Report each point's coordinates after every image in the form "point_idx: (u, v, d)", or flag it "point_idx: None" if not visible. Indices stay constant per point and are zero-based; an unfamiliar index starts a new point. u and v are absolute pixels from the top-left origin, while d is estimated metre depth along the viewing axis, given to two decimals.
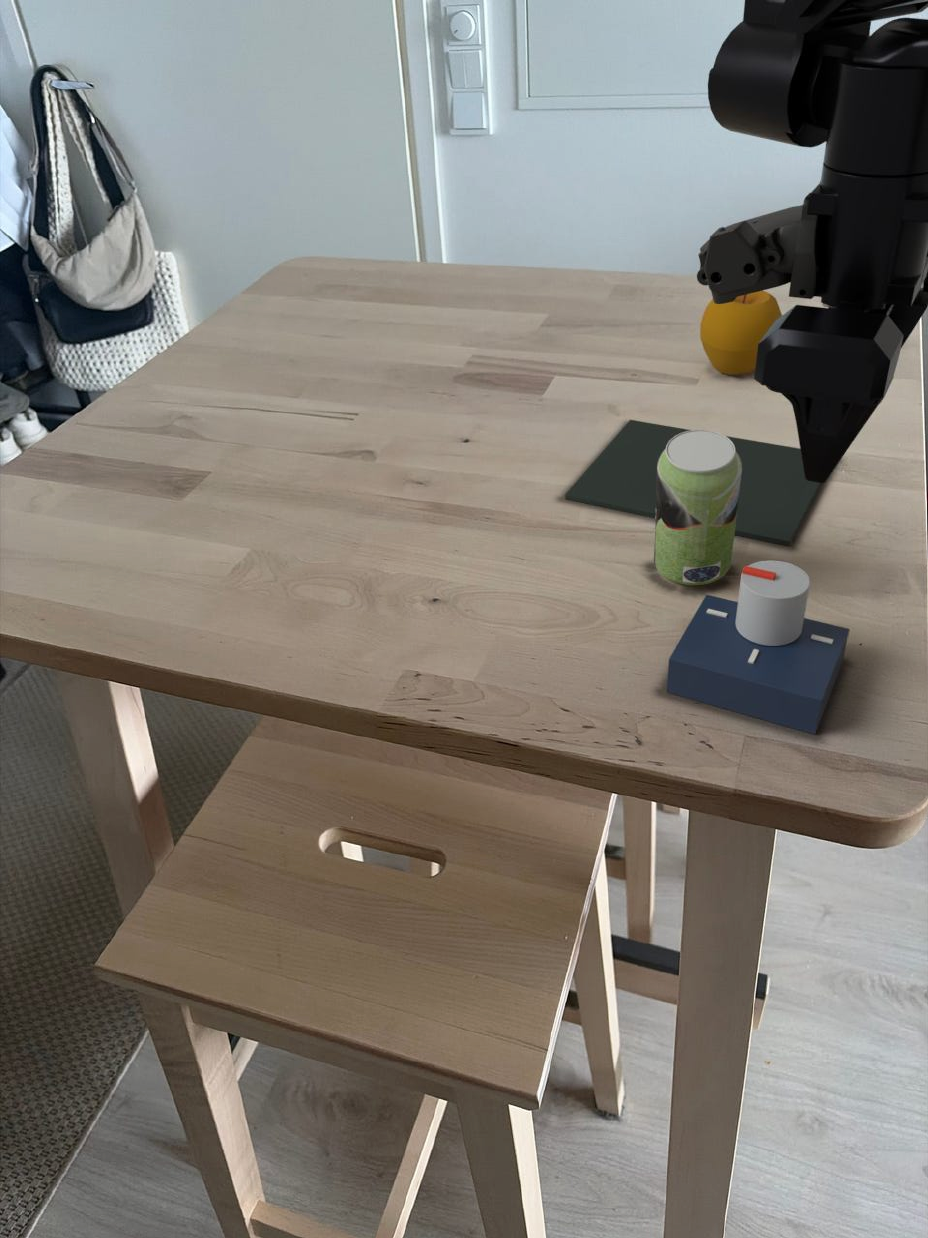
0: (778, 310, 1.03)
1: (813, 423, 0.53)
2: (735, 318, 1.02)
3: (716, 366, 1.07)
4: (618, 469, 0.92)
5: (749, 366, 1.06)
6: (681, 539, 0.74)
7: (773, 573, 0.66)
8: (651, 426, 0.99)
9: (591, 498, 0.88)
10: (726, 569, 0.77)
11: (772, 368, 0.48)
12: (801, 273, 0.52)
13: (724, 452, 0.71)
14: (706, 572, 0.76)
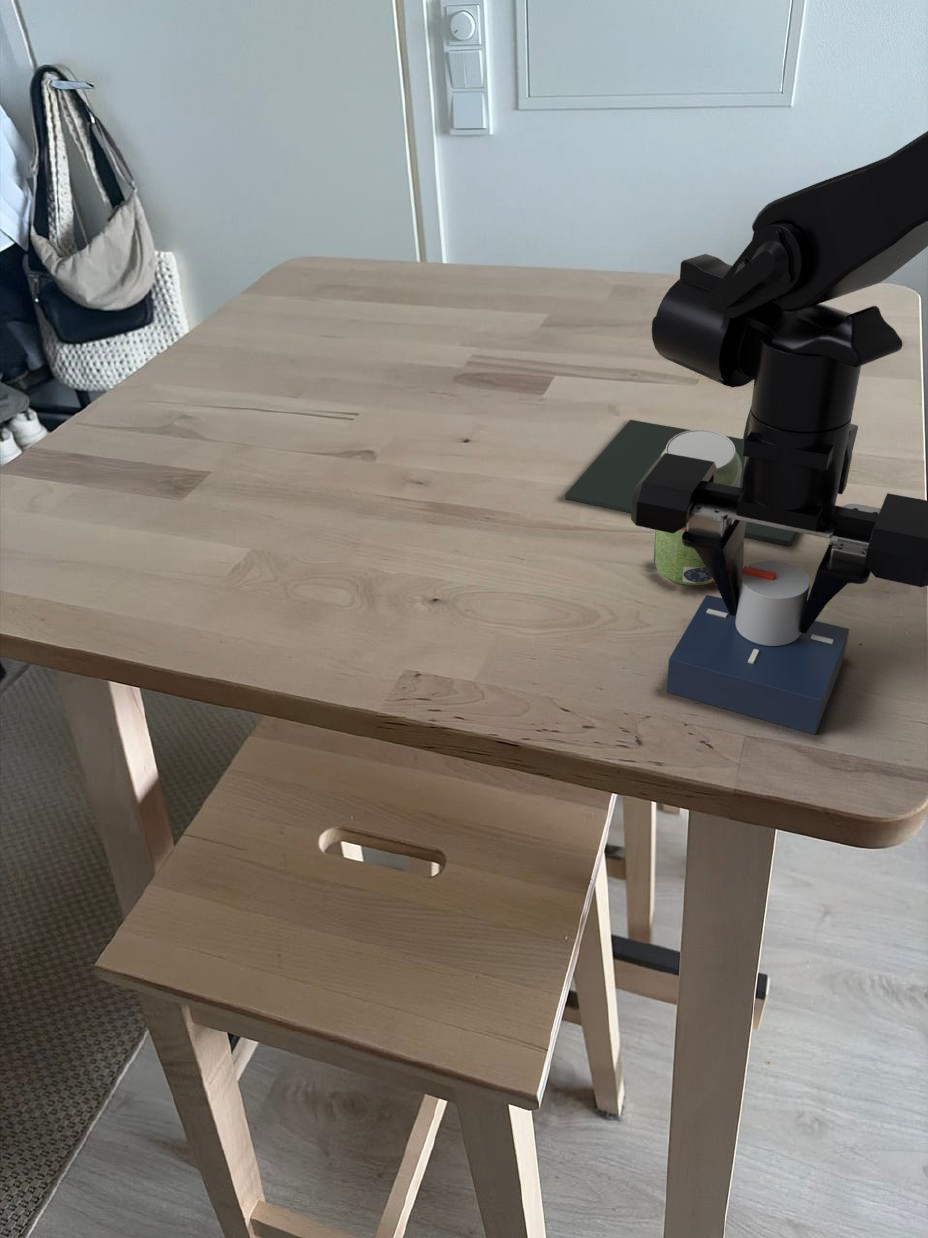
0: None
1: None
2: None
3: None
4: (618, 469, 0.92)
5: None
6: (681, 539, 0.74)
7: (773, 573, 0.66)
8: (651, 426, 0.99)
9: (591, 498, 0.88)
10: None
11: None
12: None
13: (724, 452, 0.71)
14: (706, 572, 0.76)
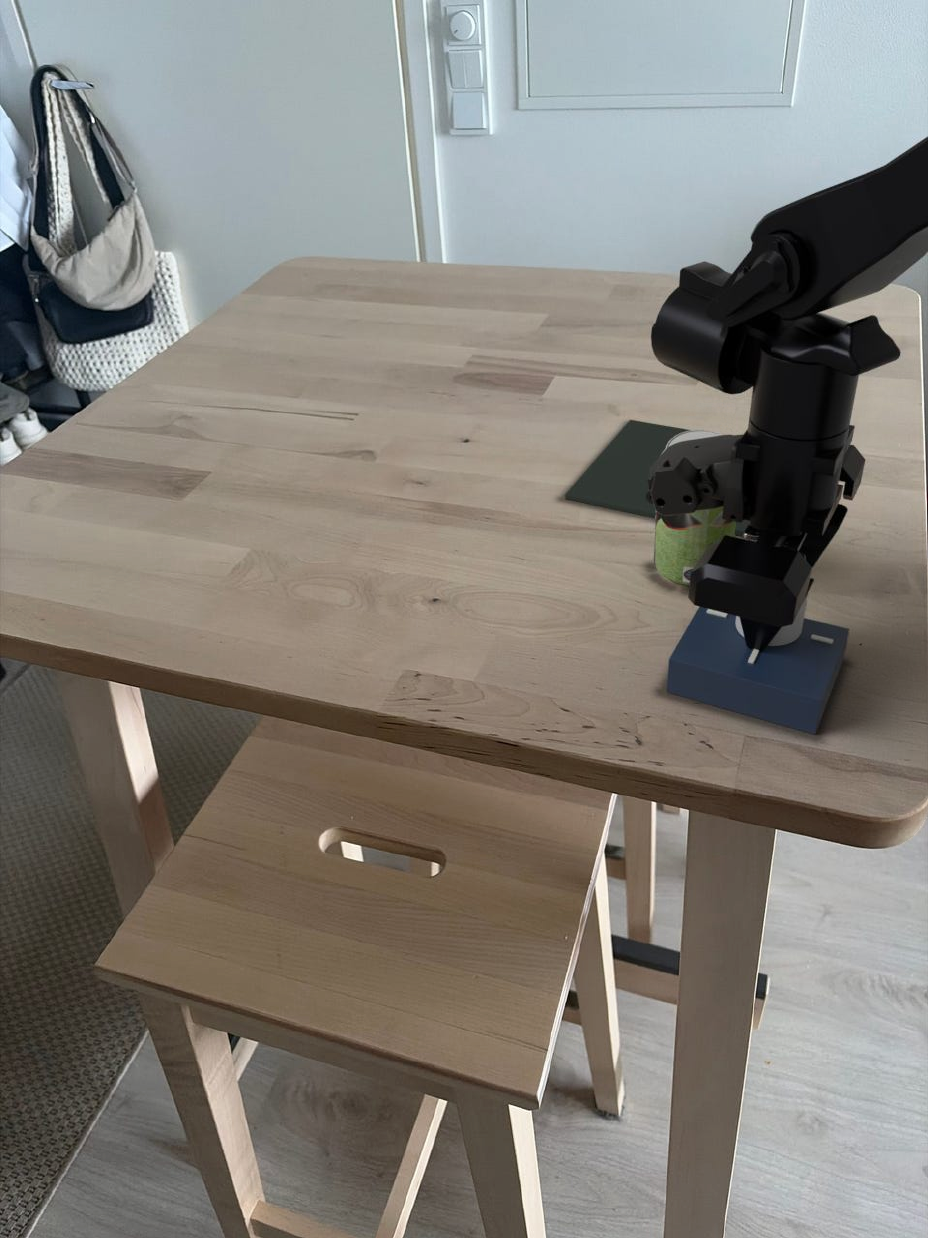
0: None
1: None
2: None
3: None
4: (618, 469, 0.92)
5: None
6: (681, 539, 0.74)
7: None
8: (651, 426, 0.99)
9: (591, 498, 0.88)
10: None
11: (702, 594, 0.58)
12: (731, 503, 0.61)
13: None
14: None
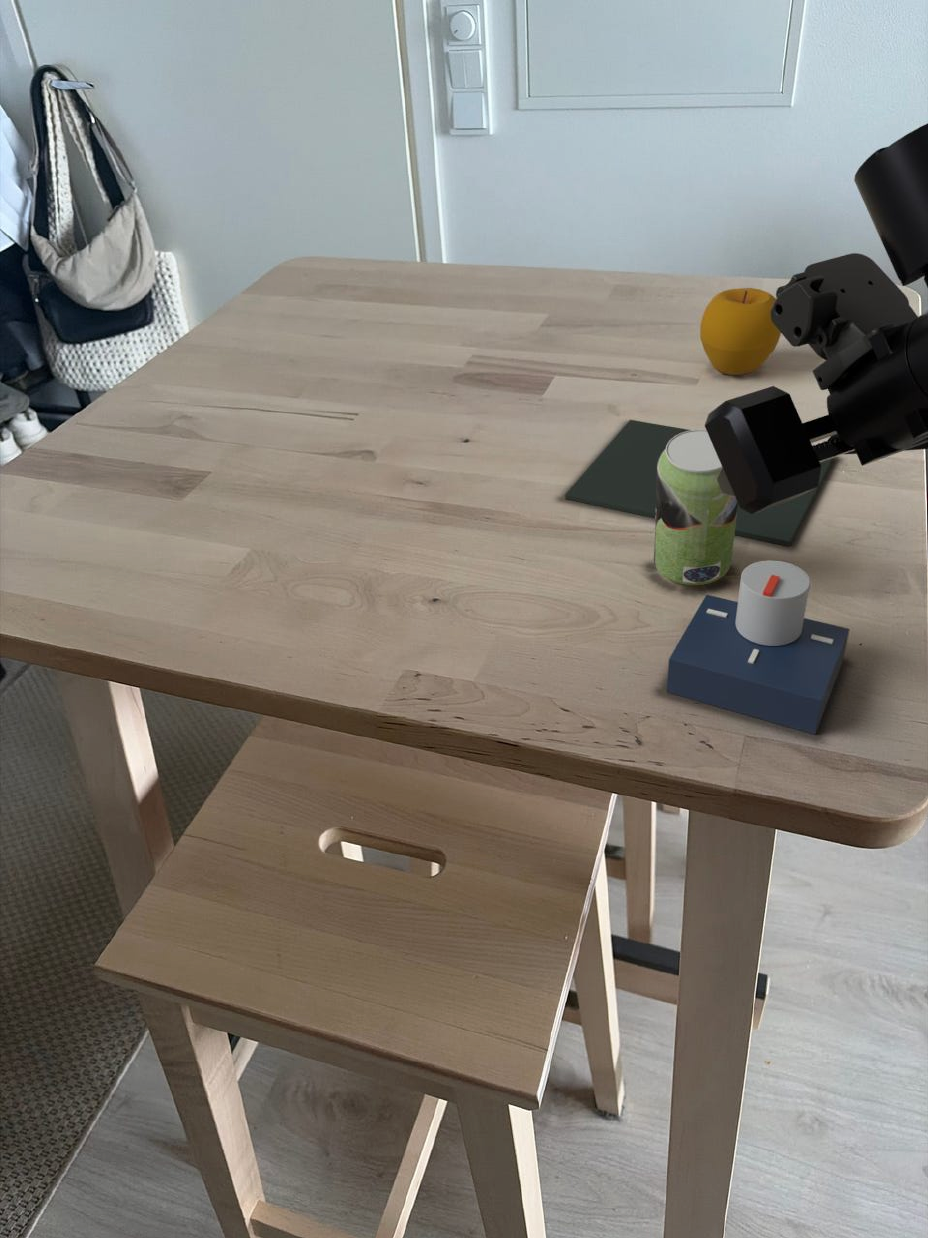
0: None
1: None
2: (735, 318, 1.02)
3: (716, 366, 1.07)
4: (618, 469, 0.92)
5: (749, 366, 1.06)
6: (681, 539, 0.74)
7: (774, 576, 0.66)
8: (651, 426, 0.99)
9: (591, 498, 0.88)
10: (726, 569, 0.77)
11: (715, 425, 0.55)
12: (829, 368, 0.55)
13: None
14: (706, 572, 0.76)
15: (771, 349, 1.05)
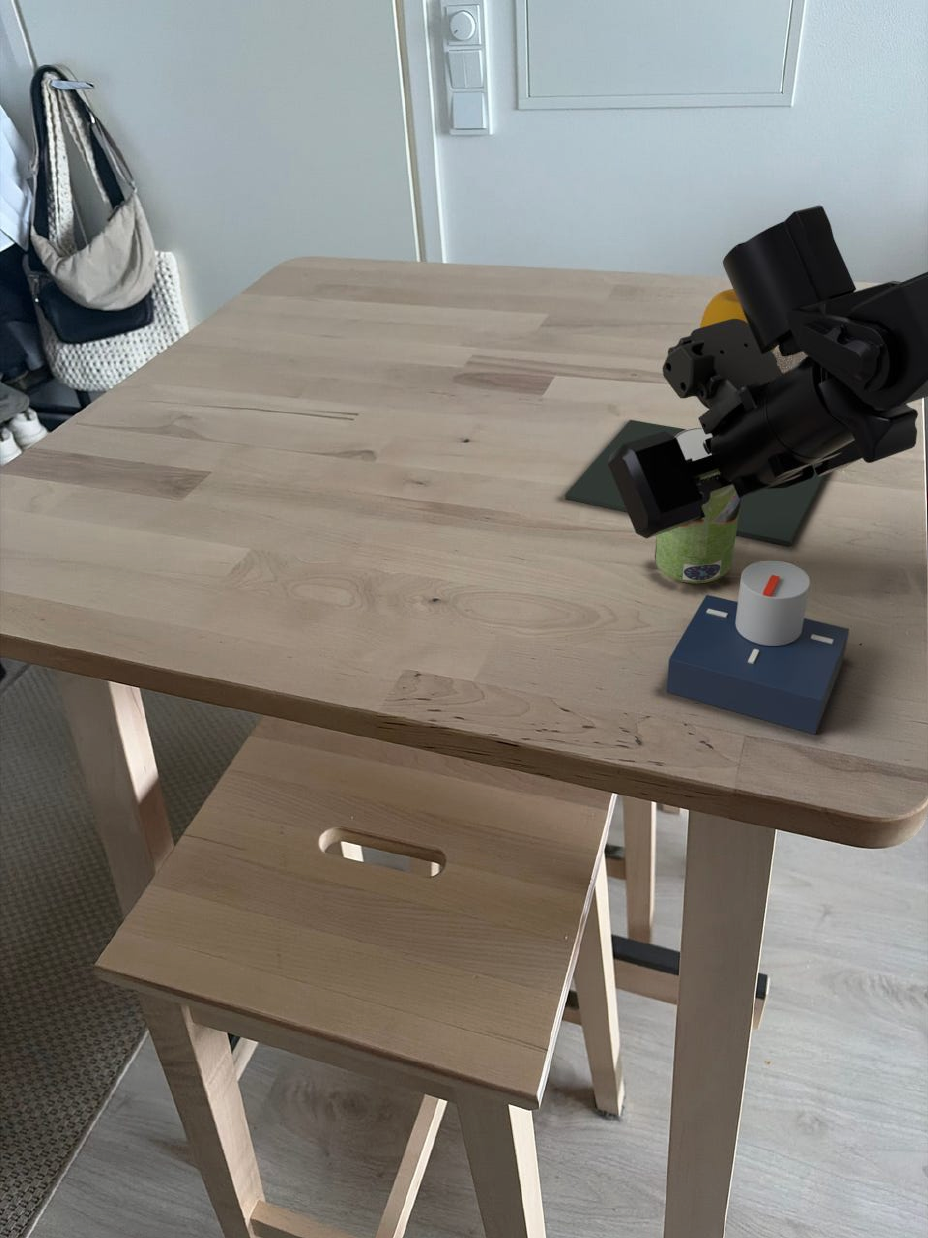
0: None
1: None
2: (735, 318, 1.02)
3: None
4: None
5: None
6: (683, 535, 0.74)
7: (774, 576, 0.66)
8: (651, 426, 0.99)
9: (591, 498, 0.88)
10: (726, 568, 0.77)
11: (615, 464, 0.65)
12: (710, 417, 0.65)
13: None
14: (706, 570, 0.76)
15: None
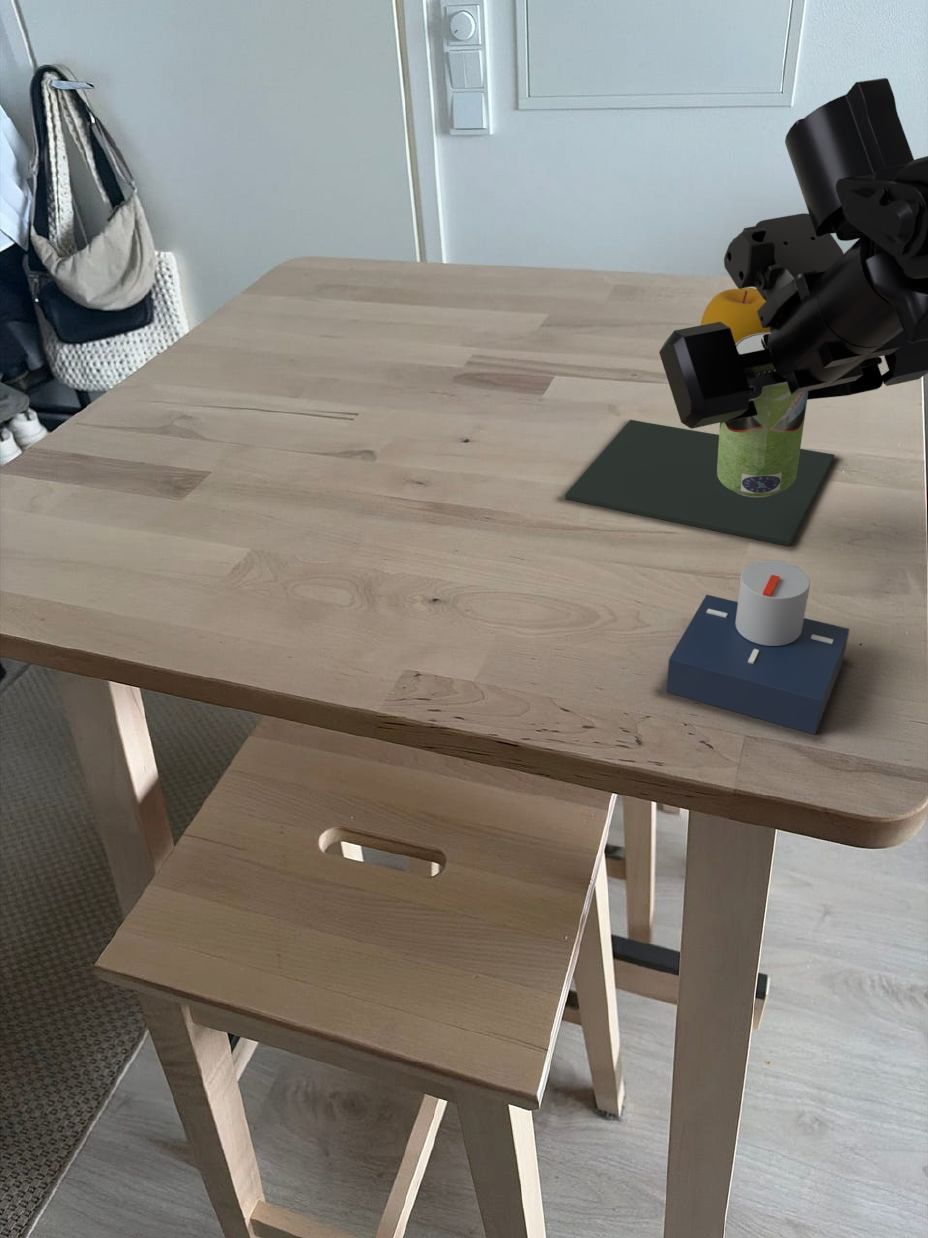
0: None
1: None
2: (735, 318, 1.02)
3: None
4: (618, 469, 0.92)
5: None
6: (741, 442, 0.73)
7: (774, 576, 0.66)
8: (651, 426, 0.99)
9: (591, 498, 0.88)
10: (788, 483, 0.76)
11: (665, 351, 0.65)
12: (767, 309, 0.64)
13: None
14: (765, 482, 0.75)
15: None
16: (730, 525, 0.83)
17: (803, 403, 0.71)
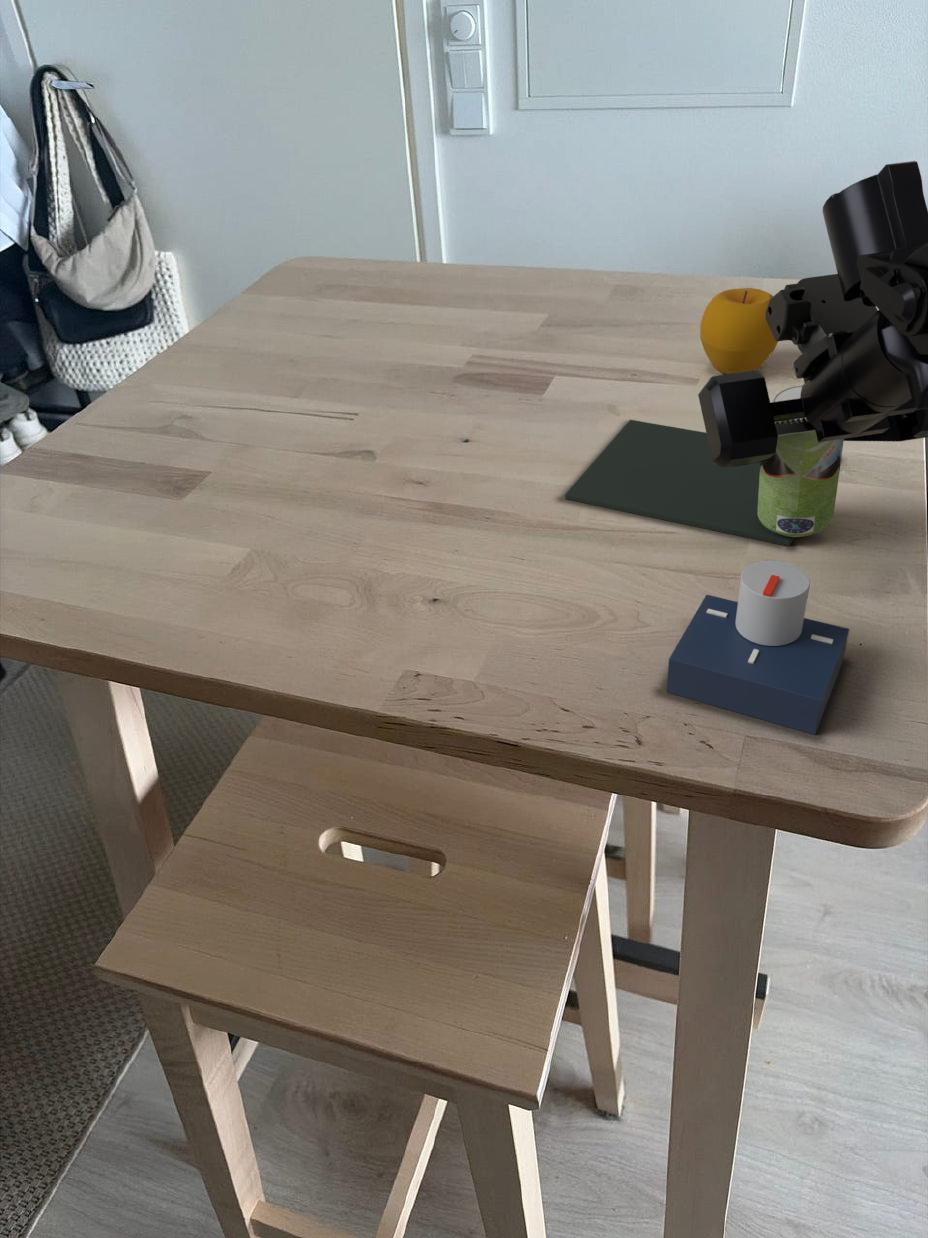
0: None
1: None
2: (735, 318, 1.02)
3: (716, 366, 1.07)
4: (618, 469, 0.92)
5: (749, 366, 1.06)
6: (776, 486, 0.78)
7: (774, 576, 0.66)
8: (651, 426, 0.99)
9: (591, 498, 0.88)
10: (822, 526, 0.80)
11: (703, 395, 0.71)
12: (801, 361, 0.69)
13: None
14: (798, 524, 0.79)
15: (771, 349, 1.05)
16: (730, 525, 0.83)
17: (836, 454, 0.76)
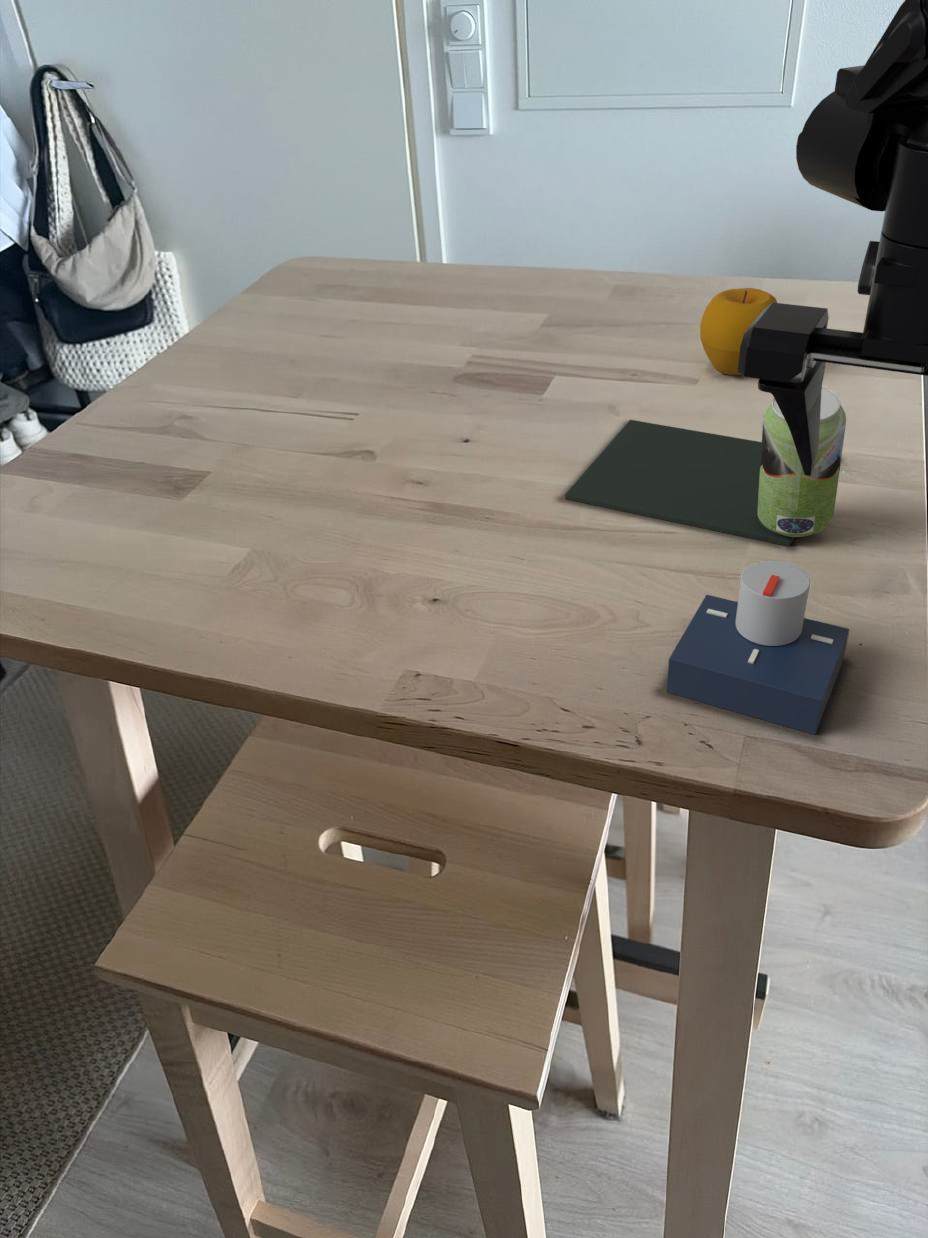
0: None
1: None
2: (735, 318, 1.02)
3: (716, 366, 1.07)
4: (618, 469, 0.92)
5: None
6: (776, 486, 0.78)
7: (774, 576, 0.66)
8: (651, 426, 0.99)
9: (591, 498, 0.88)
10: (822, 526, 0.80)
11: None
12: None
13: (828, 408, 0.74)
14: (798, 524, 0.79)
15: None
16: (730, 525, 0.83)
17: (836, 454, 0.76)
